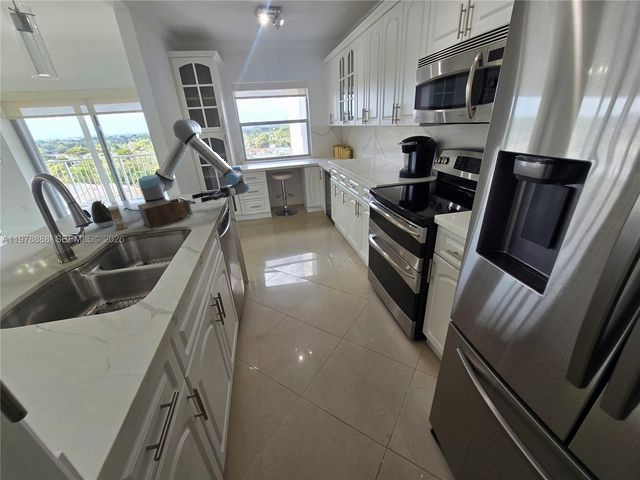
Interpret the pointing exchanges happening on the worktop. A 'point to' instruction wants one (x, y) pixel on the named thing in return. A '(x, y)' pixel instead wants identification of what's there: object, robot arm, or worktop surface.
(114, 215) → the sprinkles bottle
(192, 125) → the robot arm
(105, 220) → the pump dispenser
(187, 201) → the drawer
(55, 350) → the worktop surface
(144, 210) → the cabinet
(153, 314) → the worktop surface
